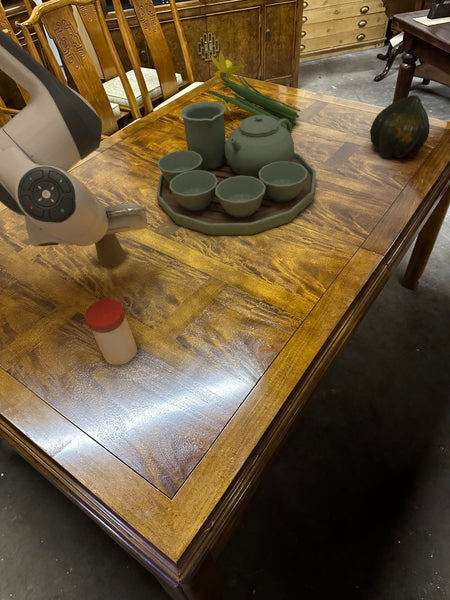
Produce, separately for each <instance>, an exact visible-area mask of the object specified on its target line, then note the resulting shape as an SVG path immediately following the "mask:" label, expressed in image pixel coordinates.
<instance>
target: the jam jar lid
mask: <svg viewBox="0 0 450 600" xmlns="http://www.w3.org/2000/svg"><path fill="white" fill-rule="evenodd" d="M126 313H127V312H126V311H125V307H124V306H123V304H122V303H121V301H119V300H118V299H116V298H112V297H111V298H107V297H106V298H102V299H99V300H97V301H95V302H93V303H91V304H90V305H89V306H88V307H87V309H86V310H85V313H84V319H85V323H86V325H87V326H88V328H89V329H90V330H91V329H92V331H96V332H101V333H102V332H108V331H111V330H113V329H115V328H117V327H118V326H119V325H121V323H122V322H123V320H124V318H125V316H126ZM92 331H91V332H92Z"/></svg>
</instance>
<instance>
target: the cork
mask: <svg viewBox="0 0 450 600" xmlns="http://www.w3.org/2000/svg"><path fill="white" fill-rule="evenodd" d="M94 246H95V250H96V251H95V252H96V256H97V260H98V264H99V266H101V267H103V268H107V269H109V268H110V269H111V268H115V267H118V266H119V265H122V264H123V263H124V261H125V260H126V257H127V255H126V252H125V251H124V249H123V247H122V245H121V243H120V241H119V238H118V237H117V234H116V233H114V234H109V235H104V236H103V238H102V239H101V240H99V241H98V242H96V243H95V244H94Z"/></svg>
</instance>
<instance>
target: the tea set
mask: <svg viewBox="0 0 450 600" xmlns="http://www.w3.org/2000/svg"><path fill="white" fill-rule="evenodd" d="M212 101H213V100H211V101H198V102H194V103H190V104H188V105H186V106H184V107H182V109H181V110H180V111H179V114H180V116H181V118H182V122H183V127H184V134H185V141H186V148H187V150H186V149H185V150H176V151H172V152H169V153H167V154H164V155H163V156H161V157H160V158H159V159H158V161H157V167H158V168H159V170H160V172H161V174H160V175H159V176H158V183H157V190H156V191H157V192H156V200H157V203H158V204H159V206H160V207H161V208H162V209H163V210H164V212H165V213H166V214H167V215H168V216H169V217H170V218H171V220H172V221H173V222H174V223H175V224H176V225H178V226H182V227H184V228H188V229H190V230H194V231H197V232H199V233H202V234H206V235H208V236H243V235H244V236H245V235H246V236H247V235H250V236H251V235H255V234H257V233H260V232H264V231H267V230H270V229H274V228H276V227H280V226H283V225H287V224H288V223H290V222H292V220H294V219H295V218H296V217H297V216H298V215H299V214H301V212H302V211H304V210H305V209H306V208H307V207H308V206H309V205H310V204H312V202H313V200H314V195H315V186H316V175H317V170H315V168H313V167H312V165H311V164H310V163H309V162H308V161H307V160H306V158H305V157H303V155H301V154H300V153H297V152H295V142H294V139H293V136H292V132H293V126H291V123H290V121H289V120H287V119H285V118H284V119H281V120H279V121H277V120H276V119H274V118H273V117H271V116H266V115H251V116H248V117H246V118H244V119H243V120H241V122H240V123H239V126H238V127H237V128H235V129H233V130H232V131H231V133H230V134H229V135H228V138H227V137H226V129H225V116H224V115H225V114H224V112H225V111H226V108H225V106H224V105H222V104H221V103H218V102H212ZM226 112H227V111H226ZM283 123H285V124H286V125H287V130H286V129H285V128H284V127H282V124H283ZM226 139H227V140H226Z"/></svg>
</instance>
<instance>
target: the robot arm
mask: <svg viewBox="0 0 450 600" xmlns="http://www.w3.org/2000/svg"><path fill="white" fill-rule="evenodd" d="M0 70H1V72H4V74H6V75H7V76H8V77H9V78H10V79H12V80H13V81H14V82H16V83H17V84H18V85H19V86H20V87H21V88H23V89H24V90H25V91H26V92H27V93H28V94H29V96H30V99H29V102H28V103H27V105H26V106H25V107H23V108H22V109H21V110H20V111H19V112H18V113H16V114H15V115H14V116H13V117H12V118H11V119H9V121H7V123H5V124H4V125H3V126H2V127H0V203H1V204H3V205H4V206H5V207H6V208H7V209H9V210H10V211H12V212H13V213H15V214H17V215H19V216H23V217H24V221H25V227H26V232H27V236H28V240H29V243H30V245H31V246H32V247H34V248H39V247H40V248H41V247H50V246H59V245H60V246H71V247H73V246H77V247H88V246H92V245H95V243H96V242H98V241H99V240H101V239H102V238H103V236H104V235H109V234H114V233H115V234H120V233H126V232H132V231H137V230H143V229H146V228H147V227H148V219H147V213H146V210H145V208H144V207H143V206H141V205H140V204H138V203H135V202H126V203H120V204H114V205H113V204H112V205H107V206H106V205H104V203H103V202H102V201H101V200H100V198H98V197H97V195H95V194H94V193H93V192H92V191H91V189H90V188H89V187H88V186H87V185H86V184H85V183H84V182H82V181H81V180H80V179H79V178H77V177H76V176H74V175H73V174H71V173H70V172H69V171H70V170H71V169H72V168H73V167H74V166H76V165H77V164H78V163H79V162H80V161H83V160H84V159H86V158H87V157H89V156H90V155H91V154H93V153H94V152H95V151H97V150H98V149H99V148H100V145H101V142H102V134H103V123H102V121H103V120H101V118H100V117H99V114H98V112H97V111H96V109H95V108H94V107H93V106H92V105H91V103H90V102H89V101H88V100H87V99H86V98H85V97H83V96H82V95H81V94H80V93H79V92H77V91H76V90H74V88H72V87H70V86H68V85H67V84H65V83H64V82H63V81H61V80H60V79H59V78H57V76H55V75H54V74H53V73H51V72H50V71H49V70H48V69H47V68H46V67H45V66H43V65H42V64H41V62H39V61H38V60H37V59H35V58H34V56H32V55H31V54H30V53H29V52H27V50H25V49H24V48H23V47H22V46H21V45H19V43H17V42H16V41H15V40H14V39H13V38H12V37H11V36H9V35H8V34H7V33H6V32H5V31H3V29H1V28H0Z"/></svg>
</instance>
